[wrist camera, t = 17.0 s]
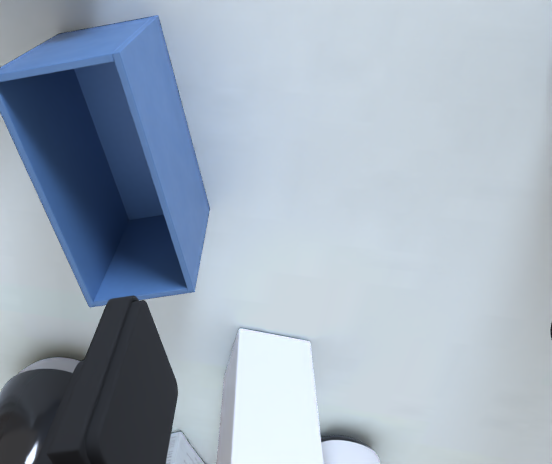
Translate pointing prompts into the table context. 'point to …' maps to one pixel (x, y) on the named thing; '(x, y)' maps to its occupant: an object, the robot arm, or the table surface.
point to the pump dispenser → (31, 408)
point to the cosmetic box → (181, 451)
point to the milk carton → (269, 402)
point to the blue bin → (111, 158)
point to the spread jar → (347, 451)
